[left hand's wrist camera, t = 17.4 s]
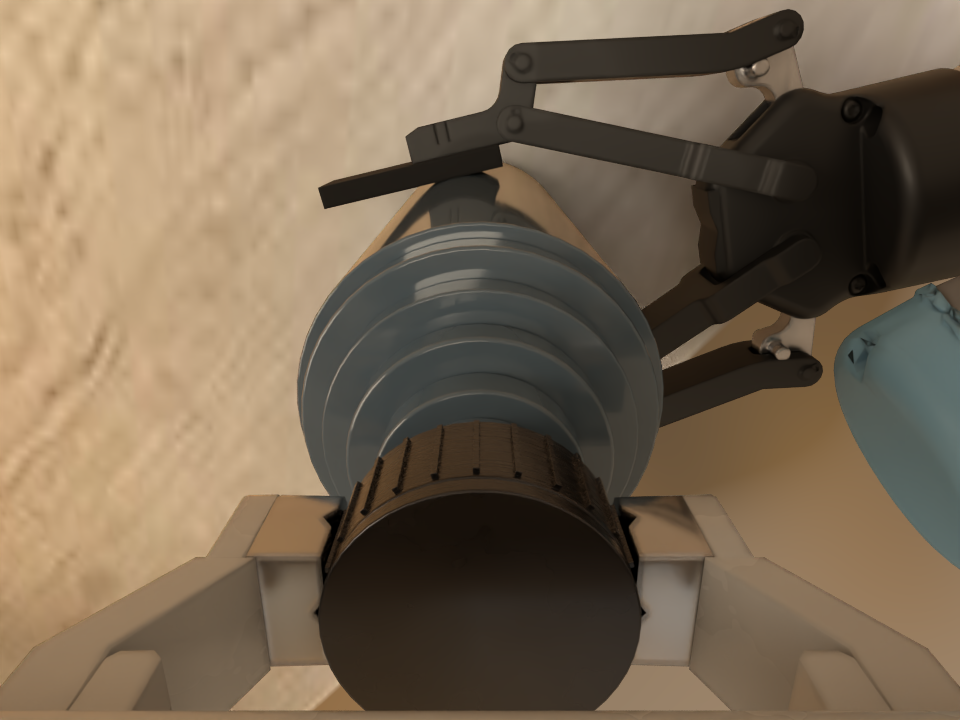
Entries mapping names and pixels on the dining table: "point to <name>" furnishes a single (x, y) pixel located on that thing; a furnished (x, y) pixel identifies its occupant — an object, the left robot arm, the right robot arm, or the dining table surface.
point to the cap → (479, 578)
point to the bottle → (480, 337)
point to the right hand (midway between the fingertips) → (363, 306)
